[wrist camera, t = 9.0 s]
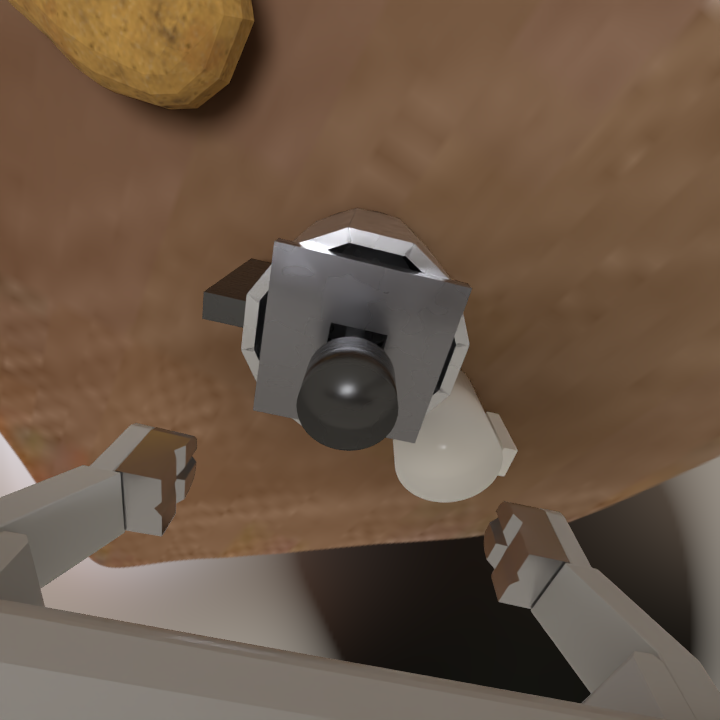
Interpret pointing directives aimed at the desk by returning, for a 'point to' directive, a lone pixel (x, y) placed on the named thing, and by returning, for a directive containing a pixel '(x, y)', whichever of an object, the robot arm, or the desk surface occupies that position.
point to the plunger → (350, 380)
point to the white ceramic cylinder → (455, 449)
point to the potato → (149, 44)
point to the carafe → (347, 312)
